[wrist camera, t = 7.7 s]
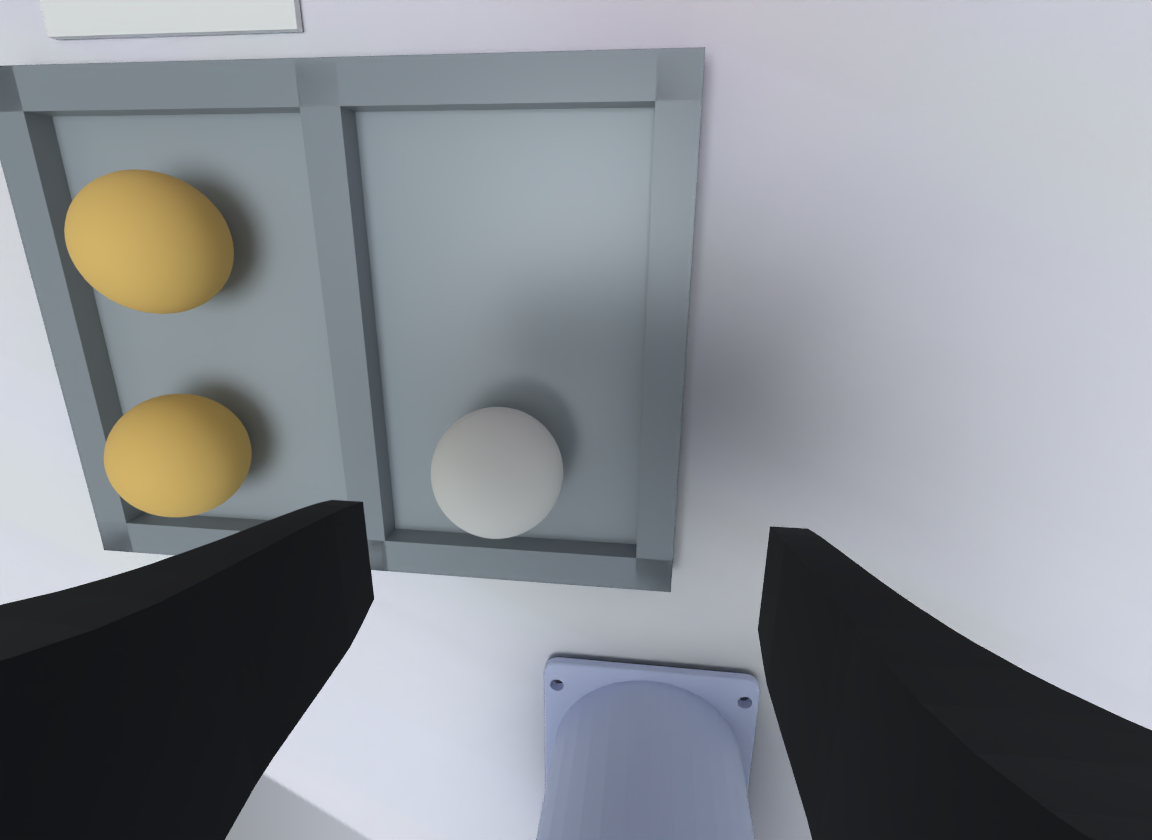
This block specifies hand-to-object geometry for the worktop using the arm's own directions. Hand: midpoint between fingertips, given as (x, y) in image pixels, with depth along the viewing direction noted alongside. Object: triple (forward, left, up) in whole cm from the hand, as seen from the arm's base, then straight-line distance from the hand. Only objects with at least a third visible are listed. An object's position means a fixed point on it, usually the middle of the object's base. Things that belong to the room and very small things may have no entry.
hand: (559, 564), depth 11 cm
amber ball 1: (+5, +13, -9) cm, 17 cm away
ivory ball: (-2, +3, -9) cm, 10 cm away
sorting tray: (+2, +8, -10) cm, 13 cm away
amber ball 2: (-2, +13, -9) cm, 17 cm away
